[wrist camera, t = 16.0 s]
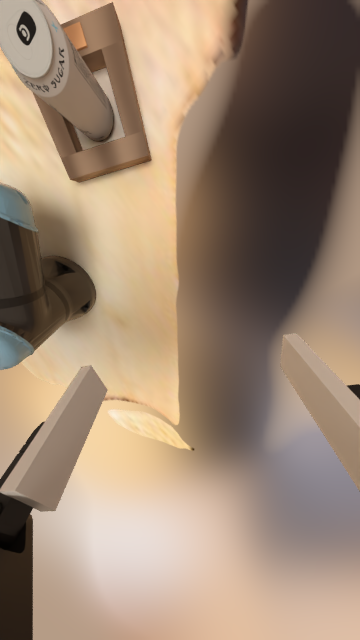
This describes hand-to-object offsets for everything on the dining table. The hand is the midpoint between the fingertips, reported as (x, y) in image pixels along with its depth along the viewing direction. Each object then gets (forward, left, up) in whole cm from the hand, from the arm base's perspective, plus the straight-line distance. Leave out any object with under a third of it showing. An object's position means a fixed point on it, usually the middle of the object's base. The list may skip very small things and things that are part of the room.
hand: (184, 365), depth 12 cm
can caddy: (-9, +25, -32) cm, 41 cm away
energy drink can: (-9, +25, -32) cm, 41 cm away
